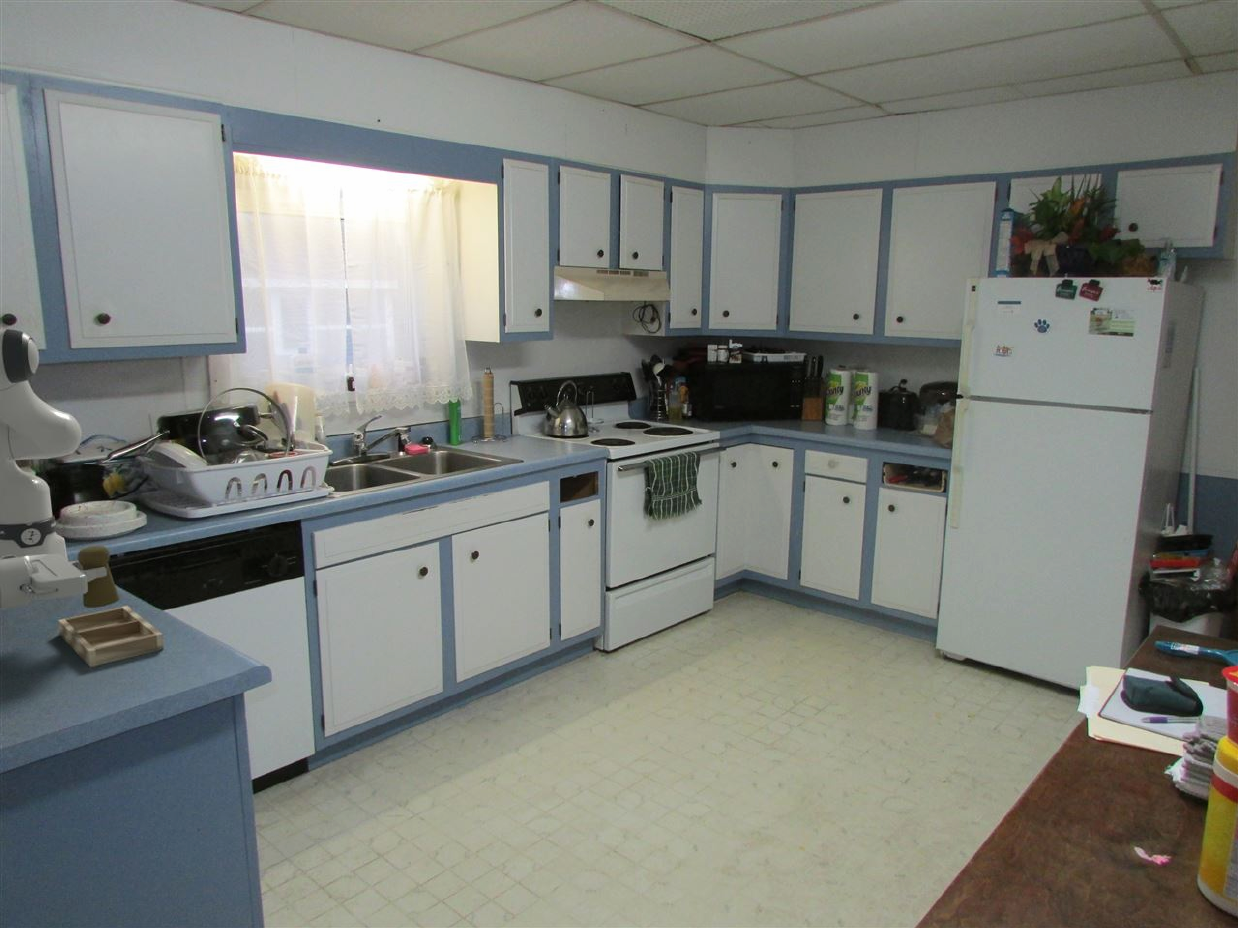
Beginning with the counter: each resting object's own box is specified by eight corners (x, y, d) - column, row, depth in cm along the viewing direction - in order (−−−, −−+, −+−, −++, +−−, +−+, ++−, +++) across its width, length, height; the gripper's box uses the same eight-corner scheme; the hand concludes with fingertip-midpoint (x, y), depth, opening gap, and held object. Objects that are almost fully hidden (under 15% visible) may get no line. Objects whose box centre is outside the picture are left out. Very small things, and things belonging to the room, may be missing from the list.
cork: (79, 602, 164) (70, 547, 161) (114, 593, 168) (106, 540, 165) (87, 610, 159) (78, 554, 157) (123, 601, 163) (114, 547, 161)
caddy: (59, 634, 164) (58, 619, 164) (128, 619, 173) (126, 605, 172) (90, 667, 150) (88, 651, 149) (163, 649, 158) (162, 633, 158)
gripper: (26, 578, 145) (116, 563, 155) (1, 554, 159) (85, 541, 169) (30, 613, 146) (119, 596, 156) (4, 586, 160) (88, 572, 170)
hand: (101, 567), depth 163 cm, fingers closed on cork, 4 cm apart
